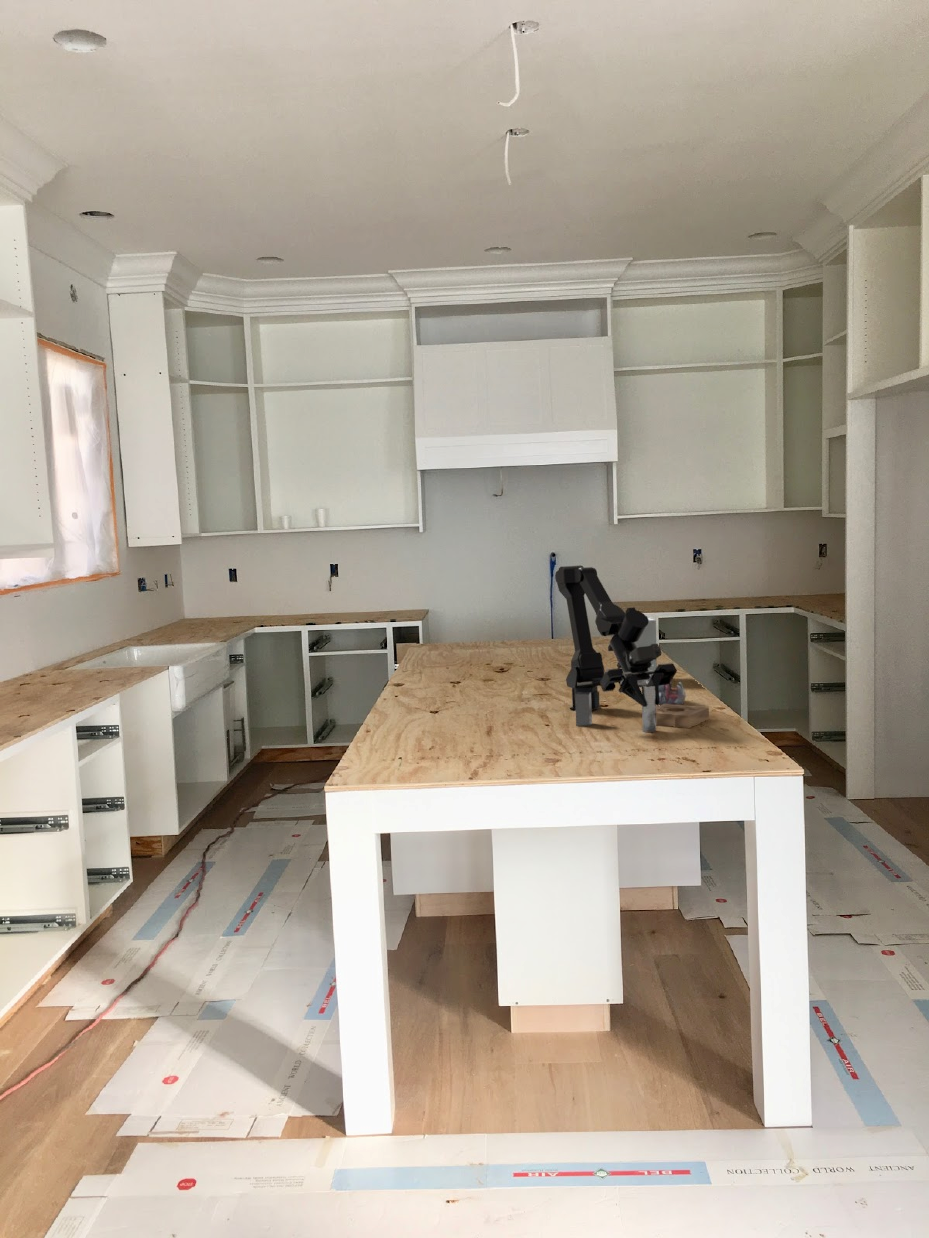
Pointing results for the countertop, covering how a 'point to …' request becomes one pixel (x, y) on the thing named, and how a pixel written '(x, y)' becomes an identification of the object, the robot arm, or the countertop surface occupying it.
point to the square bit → (583, 709)
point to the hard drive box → (648, 643)
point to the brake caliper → (671, 694)
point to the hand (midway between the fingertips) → (651, 705)
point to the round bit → (649, 709)
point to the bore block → (680, 715)
